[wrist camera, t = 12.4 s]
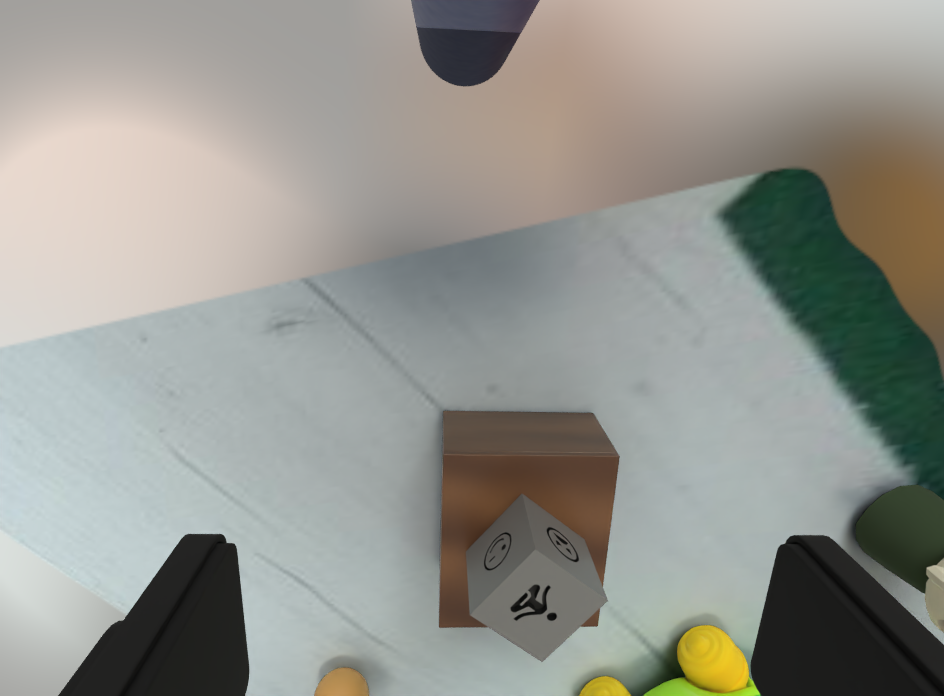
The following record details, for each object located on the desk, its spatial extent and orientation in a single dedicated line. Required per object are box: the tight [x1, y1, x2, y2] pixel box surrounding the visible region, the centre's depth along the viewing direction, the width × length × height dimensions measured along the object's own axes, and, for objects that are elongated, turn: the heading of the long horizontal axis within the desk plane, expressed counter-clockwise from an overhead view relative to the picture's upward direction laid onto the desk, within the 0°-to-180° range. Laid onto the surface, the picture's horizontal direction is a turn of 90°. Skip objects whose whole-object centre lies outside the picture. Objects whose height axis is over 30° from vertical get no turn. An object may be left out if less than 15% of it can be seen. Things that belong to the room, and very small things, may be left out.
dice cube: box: [466, 494, 608, 662], centre depth 31 cm, size 5×5×5 cm
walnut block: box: [439, 411, 620, 628], centre depth 36 cm, size 12×10×6 cm
